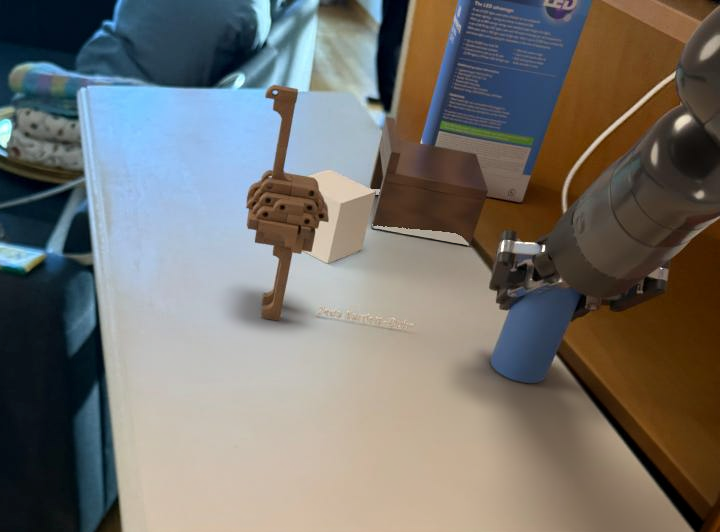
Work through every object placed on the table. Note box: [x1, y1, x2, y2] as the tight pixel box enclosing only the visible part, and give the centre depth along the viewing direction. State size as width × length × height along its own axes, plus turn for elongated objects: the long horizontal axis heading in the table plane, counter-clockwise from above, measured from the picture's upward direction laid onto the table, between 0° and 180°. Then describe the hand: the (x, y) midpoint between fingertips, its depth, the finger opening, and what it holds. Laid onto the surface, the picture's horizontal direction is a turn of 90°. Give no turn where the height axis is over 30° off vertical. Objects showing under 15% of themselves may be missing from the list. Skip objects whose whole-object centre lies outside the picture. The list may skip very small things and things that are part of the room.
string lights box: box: [420, 0, 594, 203], centre depth 106 cm, size 13×8×26 cm, turn 86°
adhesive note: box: [302, 169, 376, 264], centre depth 94 cm, size 6×6×6 cm
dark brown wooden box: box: [369, 116, 488, 245], centre depth 103 cm, size 11×11×8 cm
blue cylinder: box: [489, 272, 582, 384], centre depth 81 cm, size 5×5×9 cm
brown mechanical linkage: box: [245, 84, 415, 331], centre depth 79 cm, size 17×7×18 cm, turn 88°
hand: (536, 304), depth 82 cm, fingers closed on blue cylinder, 5 cm apart
